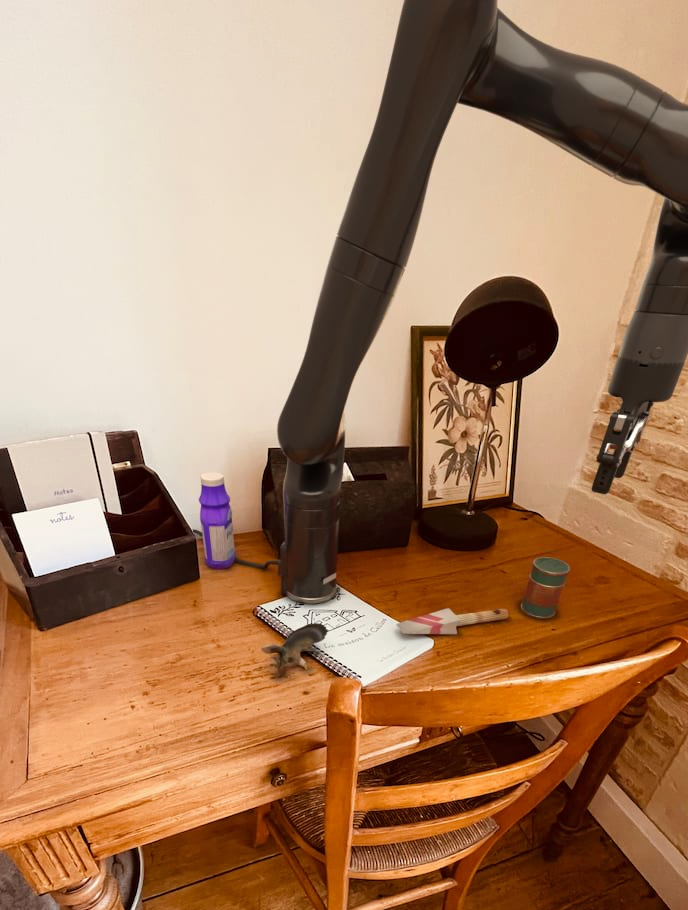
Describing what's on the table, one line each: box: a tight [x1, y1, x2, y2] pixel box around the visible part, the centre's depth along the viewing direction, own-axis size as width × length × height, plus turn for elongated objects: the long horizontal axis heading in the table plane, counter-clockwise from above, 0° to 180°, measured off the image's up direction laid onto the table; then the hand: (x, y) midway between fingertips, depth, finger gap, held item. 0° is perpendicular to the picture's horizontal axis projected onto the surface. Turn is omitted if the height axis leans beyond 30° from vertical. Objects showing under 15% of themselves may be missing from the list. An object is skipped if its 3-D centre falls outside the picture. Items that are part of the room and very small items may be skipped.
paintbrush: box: [395, 607, 509, 635], centre depth 86 cm, size 4×3×20 cm
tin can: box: [520, 556, 571, 621], centre depth 90 cm, size 6×6×9 cm
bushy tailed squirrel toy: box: [260, 622, 329, 678], centre depth 77 cm, size 8×7×9 cm
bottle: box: [198, 471, 236, 570], centre depth 98 cm, size 7×6×17 cm
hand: (607, 484), depth 74 cm, fingers open, 8 cm apart
